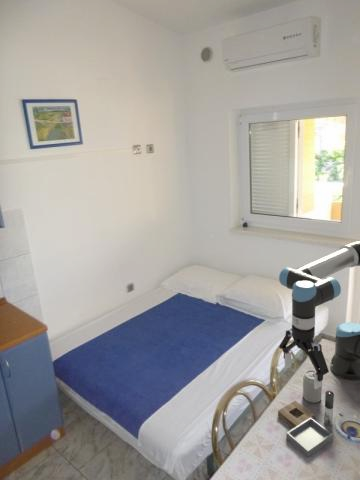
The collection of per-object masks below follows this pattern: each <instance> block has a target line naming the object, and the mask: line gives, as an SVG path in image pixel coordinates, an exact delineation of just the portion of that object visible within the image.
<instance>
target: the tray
mask: <svg viewBox="0 0 360 480" xmlns="http://www.w3.org/2000/svg"><path fill="white" fill-rule="evenodd" d="M333 436H334V435H333V433H332V432H331V431H329V430H328V429H327V428H325V427H324V426H323V425H322V424H321V423H319V422H318V421H317V420H316V419H315V420H314V419H312V418H311V417H310V418H309V419H307V420H305V421H304V422H302V423H301V424H299V425H298V426H296V427H295V428H291V429H290V430H288V431H287V432H286V436H285V437H286V439H287V440H288V442H290V443H291V444H293V446H295V447H296V448H297V449H298V450H299V451H300V452H301V453H302V454H304V455H305V456H306V457H307V458H309V457H310V456H311V455H313V454H314V453H315V452H317V451H318V450H320V449H322V447H324V446H326V445H327V444H329V443H330V442H331V441H333Z"/></svg>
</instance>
